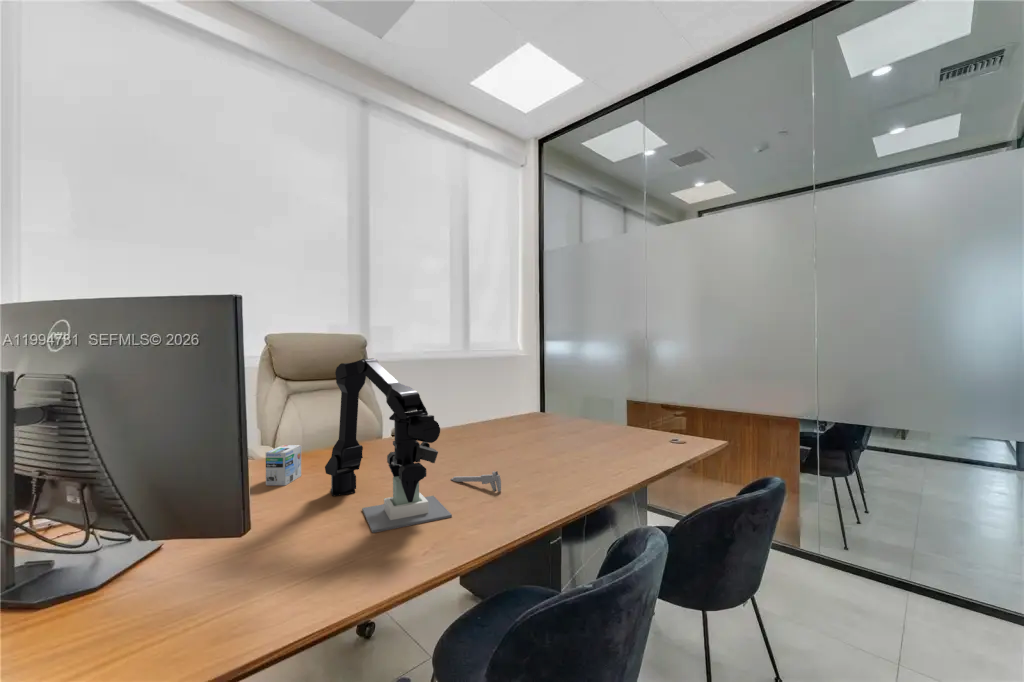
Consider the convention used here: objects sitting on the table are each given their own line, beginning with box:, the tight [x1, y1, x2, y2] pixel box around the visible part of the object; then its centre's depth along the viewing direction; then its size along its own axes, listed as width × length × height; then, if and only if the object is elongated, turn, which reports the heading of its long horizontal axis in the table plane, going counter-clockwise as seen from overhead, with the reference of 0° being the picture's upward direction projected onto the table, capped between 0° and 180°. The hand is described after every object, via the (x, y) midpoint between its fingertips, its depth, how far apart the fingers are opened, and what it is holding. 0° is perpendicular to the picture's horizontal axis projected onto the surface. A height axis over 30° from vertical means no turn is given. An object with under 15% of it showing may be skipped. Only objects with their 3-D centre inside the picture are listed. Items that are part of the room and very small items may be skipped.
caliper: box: [450, 470, 502, 493], centre depth 138 cm, size 20×1×6 cm, turn 54°
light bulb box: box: [265, 444, 302, 486], centre depth 144 cm, size 11×7×11 cm, turn 179°
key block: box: [392, 476, 420, 506], centre depth 116 cm, size 4×6×9 cm, turn 118°
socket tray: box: [361, 492, 453, 534], centre depth 116 cm, size 20×16×4 cm
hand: (405, 496), depth 116 cm, fingers open, 9 cm apart
